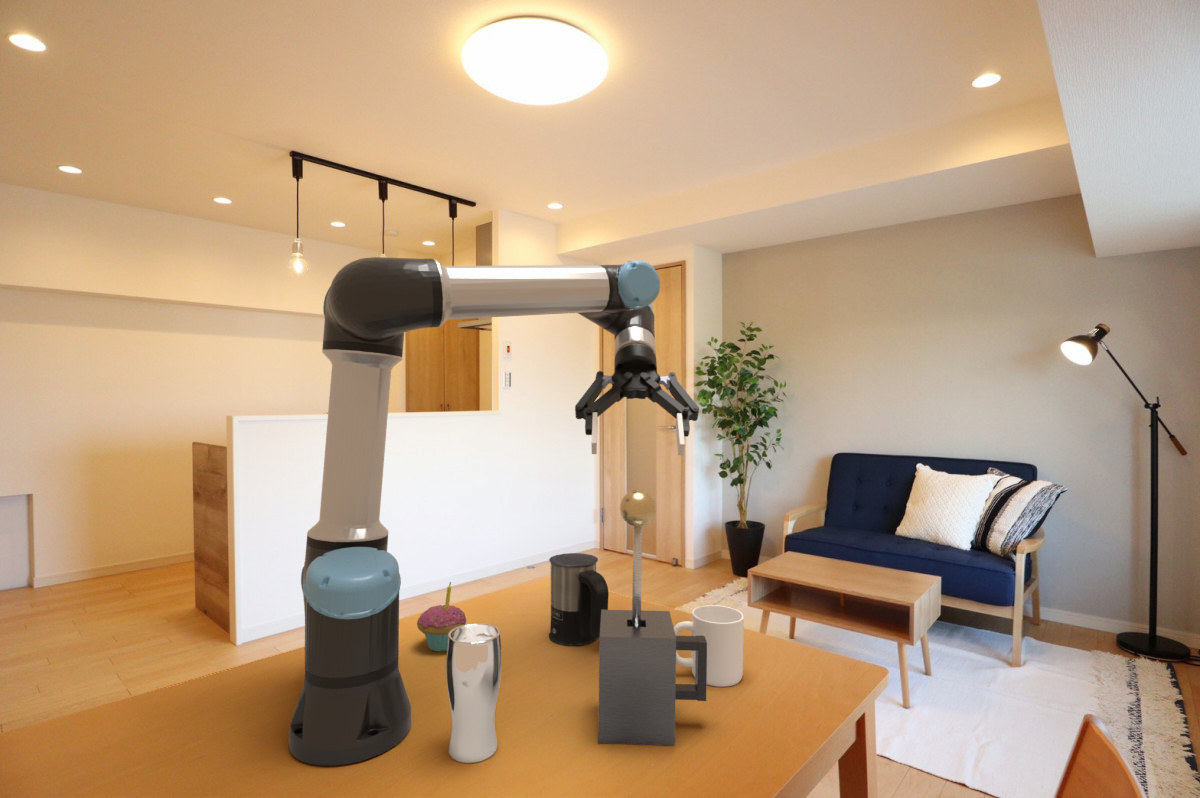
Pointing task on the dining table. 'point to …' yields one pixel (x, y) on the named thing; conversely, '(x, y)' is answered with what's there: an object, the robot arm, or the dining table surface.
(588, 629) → the milk frother
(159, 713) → the dining table surface
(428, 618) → the cupcake
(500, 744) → the dining table surface
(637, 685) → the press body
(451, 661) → the beer glass
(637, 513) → the plunger
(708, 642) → the cup
